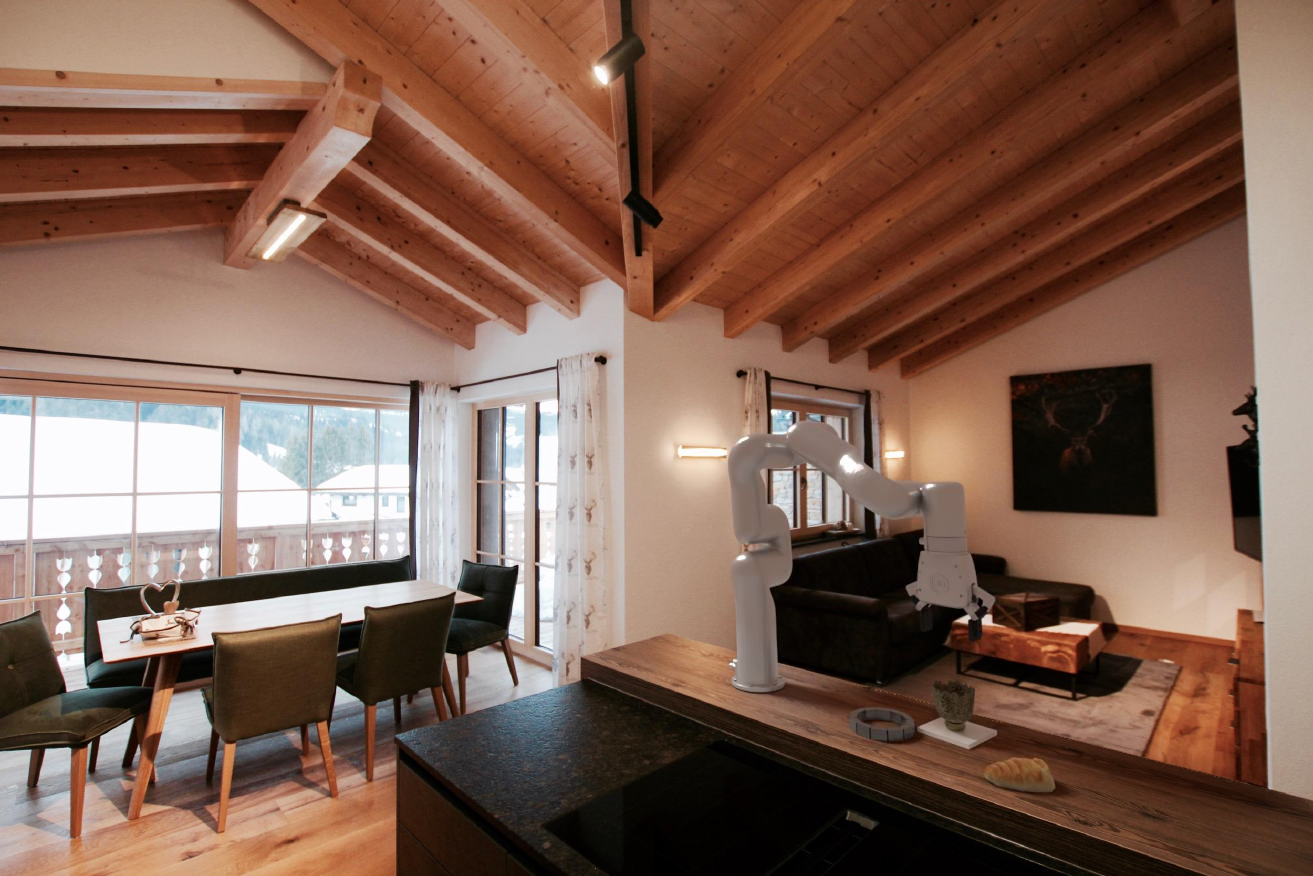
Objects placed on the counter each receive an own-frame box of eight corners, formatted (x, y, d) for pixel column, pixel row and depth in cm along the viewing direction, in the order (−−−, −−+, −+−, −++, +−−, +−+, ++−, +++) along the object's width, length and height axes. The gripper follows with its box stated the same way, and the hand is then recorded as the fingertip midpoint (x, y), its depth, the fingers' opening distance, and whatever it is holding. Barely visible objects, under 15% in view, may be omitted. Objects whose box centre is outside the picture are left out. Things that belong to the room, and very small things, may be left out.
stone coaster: (917, 731, 119) (917, 727, 119) (946, 719, 125) (945, 715, 125) (968, 749, 111) (968, 744, 111) (997, 735, 116) (996, 730, 116)
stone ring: (838, 727, 122) (837, 716, 122) (874, 713, 129) (874, 703, 129) (890, 746, 113) (889, 735, 113) (926, 730, 119) (926, 720, 119)
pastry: (995, 794, 96) (994, 768, 96) (977, 773, 102) (975, 749, 103) (1060, 795, 95) (1058, 769, 95) (1037, 774, 102) (1035, 750, 102)
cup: (967, 721, 121) (965, 679, 122) (984, 737, 114) (981, 692, 114) (928, 720, 122) (926, 679, 122) (942, 736, 114) (940, 692, 115)
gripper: (894, 543, 125) (898, 630, 124) (980, 550, 111) (985, 648, 110) (916, 540, 129) (919, 624, 128) (1001, 547, 115) (1006, 641, 114)
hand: (950, 635), depth 119 cm, fingers open, 9 cm apart
